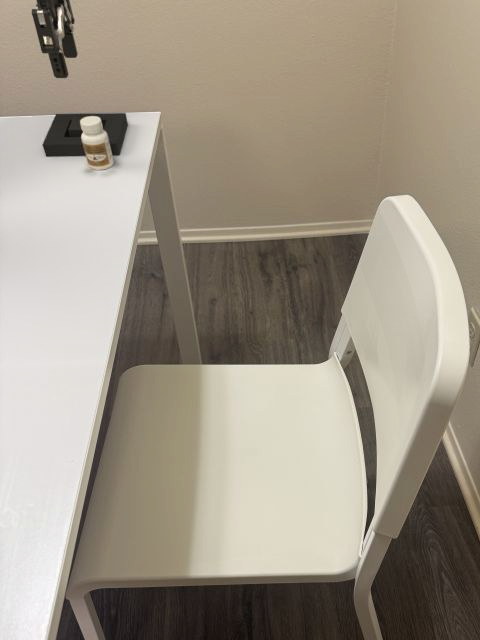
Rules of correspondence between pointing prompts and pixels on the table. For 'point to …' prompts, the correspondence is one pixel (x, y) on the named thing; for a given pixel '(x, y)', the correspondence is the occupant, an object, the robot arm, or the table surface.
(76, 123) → the small pad
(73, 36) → the robot arm
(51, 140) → the base pad
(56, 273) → the table surface
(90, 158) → the pill bottle
